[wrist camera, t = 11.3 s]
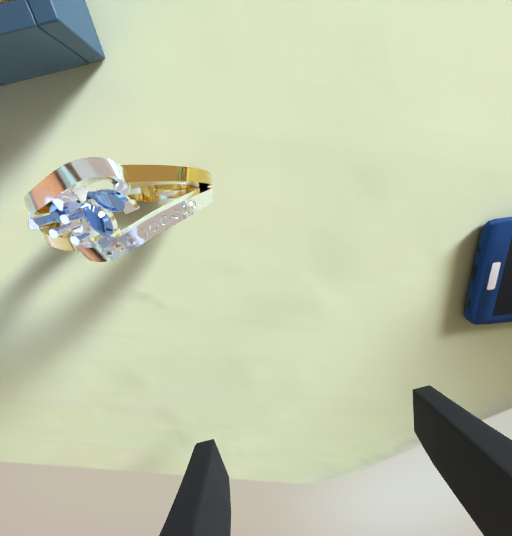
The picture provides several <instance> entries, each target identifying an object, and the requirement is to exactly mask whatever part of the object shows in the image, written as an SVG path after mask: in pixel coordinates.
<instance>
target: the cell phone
mask: <svg viewBox="0 0 512 536" xmlns="http://www.w3.org/2000/svg"><path fill="white" fill-rule="evenodd" d="M465 318H466V319H467V320H468V321H470V322H471V323H473V324H493V323H502V322H511V321H512V217H508V218H500V219H494V220H491V221H488V222H487V223H486V224H485V225H484V227H483V229H482V233H481V236H480V239H479V244H478V249H477V254H476V258H475V263H474V268H473V273H472V277H471V282H470V287H469V292H468V297H467V301H466V306H465Z"/></svg>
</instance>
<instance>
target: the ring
mask: <svg viewBox="0 0 512 536" xmlns="http://www.w3.org/2000/svg"><path fill="white" fill-rule="evenodd" d="M101 180H107V181H110V182H112V183H113V185H114V188H113V189H99V190H98V189H97V188H83V187H85V186H87V185H89V184H91V183H93V182H96V181H101ZM209 186H212V180H211V173H210V172H208V171H205V170H201V169H196V168H190V167H180V166H165V165H119V164H117V163H116V162H114V161H112V160H109V159H105V158H99V157H89V158H82V159H78V160H75V161H72V162H69V163H67V164H65V165H63V166H62V167H60V168H58V169H57V170H55V171H54V172H53V173H51V174H50V175H49V176H47V177H46V178H45V179H44V180H43V181H41V182H40V183H39V184H38V185H37V186H36V187H34V188H33V189H32V190H31V191H30V192H29V193H28V194H27V195H26V196H25V197H24V201H25V204H26V206H27V209H28V211H29V214H30V216H31V218H29V227H30V228H31V229H37V230H40V231H41V233H42V235H43V237H44V240H45V242H46V243H47V244H48V245H50V246H52V247H54V248H57V249H61V250H66V251H73V252H81V253H82V254H83V256H84V257H86V258H87V259H89V260H91V261H95V262H105V261H110V260H113V259H116V258H119V257H121V256H123V255H125V254H127V253H129V252H130V251H132V250H134V249H135V248H137V247H139V246H140V245H142V244H143V243H145V242H147V241H148V240H150V239H151V238H153V237H155V236H156V235H158V234H160V233H161V232H163V231H165V230H166V229H168V228H170V227H171V226H173V225H175V224H176V223H178V222H180V221H182V220H183V219H185V218H187V217H189V216H190V215H192V214H194V213H195V212H197V211H199V210H201V209H202V208H204V207H205V206H207V205H209V204H210V203H212V202H213V201H214V194H213V187H209ZM82 188H83V189H82ZM74 193H76V194H74ZM169 198H177V199H175V200H173V201H171V202H169V203H167V204H165V205H163V206H161V207H160V208H158V209H156V210H154V211H153V212H151V213H149V214H147V215H146V216H144V217H142V218H141V219H139V220H138V221H136V222H134V223H133V224H131V225H129V226H128V227H126V228H125V229H123V230H120V229H118V225H117V221H116V219H115V217H114V215H113V214H112V213H113V212H122V211H124V213H125V214H127V213H130V212H133V211H135V210H138V209H139V208H140V206H139V205H138V204H137V202H139V201H143V202H153V201H159V199H169ZM34 216H35V217H34ZM99 234H101V235H103V236H104V237H103V238H101V239H100V240H95V239H96V237H95V236H97V235H99Z"/></svg>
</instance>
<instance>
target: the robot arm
mask: <svg viewBox="0 0 512 536" xmlns="http://www.w3.org/2000/svg"><path fill="white" fill-rule="evenodd" d="M413 409H414V431H415V433H416V435H417V437H418V438H419V440H420V442H421V444H422V445H423V447H424V449H425V451H426V452H427V454H428V455H429V457H430V459H431V461H432V463H433V464H434V466H435V467H436V468H437V470H438V471H439V473H440V474H441V475H442V477H443V478H444V480H445V481H446V482H447V484H448V485H449V487H450V488H451V490H452V491H453V493H454V494H455V495H456V497H457V498H458V500H459V501H460V502H461V504H462V505H463V506H464V508H465V509H466V511H467V512H468V514H469V515H470V516H471V518H472V519H473V521H474V522H475V523H476V525H477V526H478V528H479V529H480V530H481V532H482V533H483V535H484V536H512V440H511V439H509V438H507V437H506V436H504V435H503V434H501V433H500V432H498V431H497V430H495V429H493V428H492V427H490V426H489V425H487V424H486V423H484V422H483V421H481V420H480V419H478V418H477V417H475V416H474V415H472V414H471V413H469V412H468V411H466V410H465V409H463V408H462V407H460V406H459V405H458V404H456V403H455V402H453V401H452V400H450V399H449V398H447V397H446V396H444V395H443V394H442V393H440V392H439V391H437V390H436V389H434V388H433V387H431V386H430V385H429V386H425V387H421V388H417V389H413ZM230 527H231V504H230V487H229V476H228V474H227V471H226V469H225V466H224V464H223V461H222V459H221V456H220V454H219V451H218V449H217V446H216V443H215V441H214V439H212V440H208V441H204V442H200V443H197V444H196V445H195V447H194V450H193V453H192V456H191V459H190V462H189V464H188V467H187V470H186V472H185V475H184V478H183V480H182V483H181V485H180V488H179V491H178V493H177V495H176V498H175V500H174V503H173V505H172V508H171V510H170V512H169V515H168V517H167V520H166V522H165V524H164V526H163V528H162V531H161V533H160V535H159V536H230Z"/></svg>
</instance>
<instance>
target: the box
mask: <svg viewBox="0 0 512 536" xmlns="http://www.w3.org/2000/svg"><path fill="white" fill-rule="evenodd" d="M104 59H105V56H104V53H103V50H102V48H101V45H100V42H99V39H98V36H97V33H96V31H95V28H94V25H93V22H92V19H91V16H90V14H89V11H88V8H87V5H86V2H85V0H15V1H11V2H7V3H3V4H0V86H1V85H5V84H9V83H13V82H17V81H21V80H25V79H29V78H34V77H38V76H42V75H46V74H50V73H54V72H58V71H62V70H66V69H70V68H74V67H78V66H82V65H86V64H89V63H93V62H97V61H101V60H104Z"/></svg>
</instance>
